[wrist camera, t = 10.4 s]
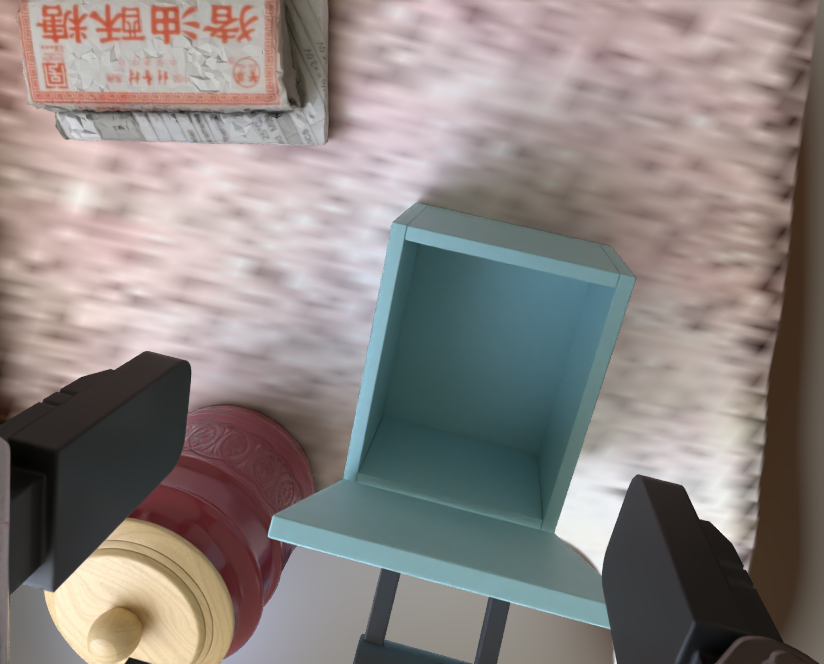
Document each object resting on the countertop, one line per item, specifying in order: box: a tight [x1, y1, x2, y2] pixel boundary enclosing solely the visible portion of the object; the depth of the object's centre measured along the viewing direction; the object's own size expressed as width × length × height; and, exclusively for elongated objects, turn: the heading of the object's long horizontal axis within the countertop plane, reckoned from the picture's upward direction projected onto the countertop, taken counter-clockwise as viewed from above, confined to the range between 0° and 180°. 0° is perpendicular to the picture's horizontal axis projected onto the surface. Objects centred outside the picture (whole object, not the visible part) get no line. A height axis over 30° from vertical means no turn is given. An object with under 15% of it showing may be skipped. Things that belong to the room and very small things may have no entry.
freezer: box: [343, 203, 636, 533], centre depth 40 cm, size 16×13×9 cm
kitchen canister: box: [44, 405, 315, 664], centre depth 42 cm, size 13×13×18 cm
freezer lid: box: [268, 479, 610, 664], centre depth 30 cm, size 16×13×5 cm
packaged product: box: [16, 0, 329, 146], centre depth 39 cm, size 18×5×10 cm
